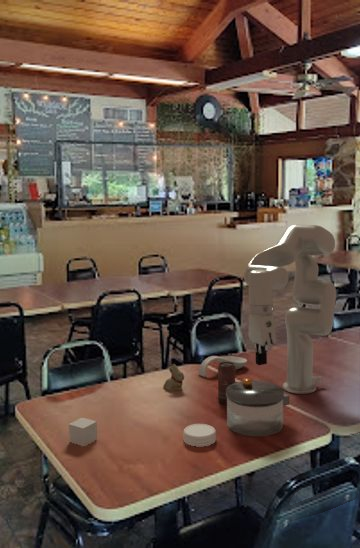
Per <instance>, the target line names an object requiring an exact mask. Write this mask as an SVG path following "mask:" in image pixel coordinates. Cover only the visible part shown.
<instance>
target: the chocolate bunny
mask: <svg viewBox="0 0 360 548" xmlns="http://www.w3.org/2000/svg"><path fill="white" fill-rule="evenodd" d="M168 370H169V372H170V374H171V377H169V378H167V379H165V382H164V384H163V385H162V386H163V389H165V390H166V391H171V392H180V391H182V390H183V381H184V380H185V374H184V373H183V371H181V370H180V369H179V367H178V366H177V365H176V364H175V363H173V364H172V365H171V366H169V367H168Z"/></svg>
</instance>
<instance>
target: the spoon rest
mask: <svg viewBox="0 0 360 548" xmlns="http://www.w3.org/2000/svg"><path fill="white" fill-rule="evenodd" d="M214 361H217V362H219V363H222V362H231V363H234V365H235V369H236V371H238V370H239V369H242V368H244V366H245V365H246V364H247V362H248V359H246V358H244V357H239V356H233V355H231V356H229V355H228V356H218V355H211V356H208V357H207V358H205V359H204V360H203V361H202V363H201V364H200V366H199V367H198V372H197V373H198V374H197V375H198V376H201V377H203V378H207V370H208V367H209V364H211V363H212V362H214ZM237 369H238V370H237Z"/></svg>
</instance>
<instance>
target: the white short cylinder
mask: <svg viewBox="0 0 360 548" xmlns="http://www.w3.org/2000/svg"><path fill="white" fill-rule="evenodd" d="M182 433H183V442H184V443H185V444H186V445H188V446H190V445H191V446H190V447H194V446H196V447H195V448H205V447H204V446H206V447H209V446H212V445H213V444H215V442H216V441H217V430H216V429H215V427H213V426H212V425H209V424H206V423H193V424H190V425H187V426H186V427H185V428H184V429H183V432H182ZM211 444H212V445H211Z"/></svg>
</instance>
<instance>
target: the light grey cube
mask: <svg viewBox="0 0 360 548" xmlns="http://www.w3.org/2000/svg"><path fill="white" fill-rule="evenodd" d="M97 424H98V423H97V421H96V420H92V419H90V418H85V417H80V418H78V419H76V420H74V421H72V422H71V423H68V431H69V432H68V434H69V443H70V442H72V443H71V444H73V443H75V444H74V445H76V444H78V445H77V446H79V445H81V446H80V447H83V446H85V447H87V446H89V445H90V444H92V443H94V442H96V441H98V425H97ZM95 440H96V441H95ZM88 444H89V445H88ZM86 445H87V446H86Z"/></svg>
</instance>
